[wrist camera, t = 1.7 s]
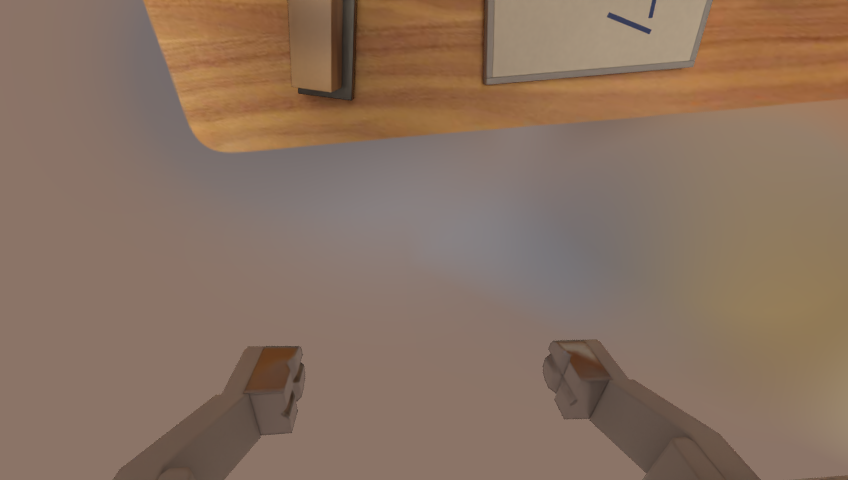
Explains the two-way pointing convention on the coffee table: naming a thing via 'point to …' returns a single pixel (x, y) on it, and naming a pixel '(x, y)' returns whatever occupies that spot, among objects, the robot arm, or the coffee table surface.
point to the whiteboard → (589, 37)
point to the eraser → (323, 47)
